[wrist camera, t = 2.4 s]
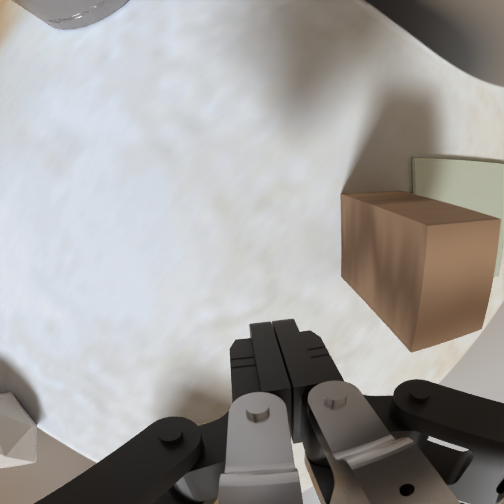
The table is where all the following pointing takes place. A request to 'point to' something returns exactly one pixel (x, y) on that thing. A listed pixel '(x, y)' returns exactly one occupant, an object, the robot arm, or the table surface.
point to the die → (16, 433)
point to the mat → (463, 187)
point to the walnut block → (419, 263)
